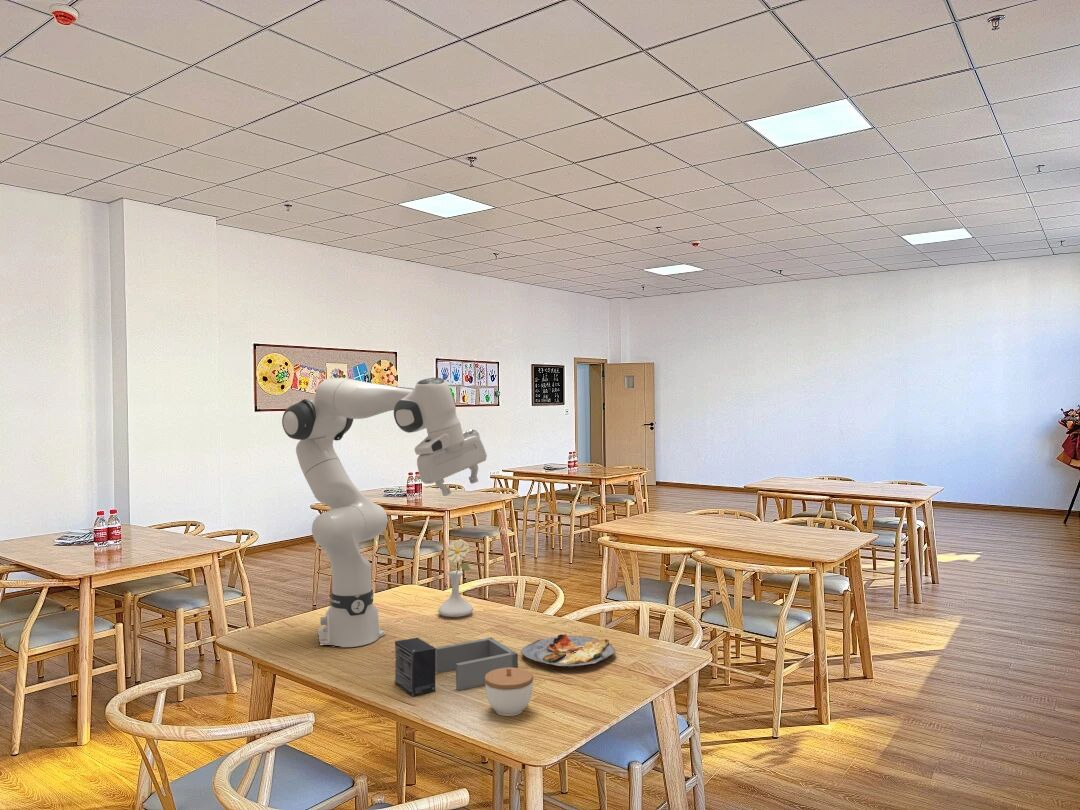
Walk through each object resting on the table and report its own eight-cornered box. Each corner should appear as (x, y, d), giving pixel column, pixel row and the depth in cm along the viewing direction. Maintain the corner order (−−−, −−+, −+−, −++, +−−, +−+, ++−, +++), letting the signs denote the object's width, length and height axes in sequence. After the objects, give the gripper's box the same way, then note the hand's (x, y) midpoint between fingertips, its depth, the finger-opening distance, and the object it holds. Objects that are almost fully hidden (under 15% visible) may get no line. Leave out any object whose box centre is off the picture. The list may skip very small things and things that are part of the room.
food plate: (559, 637, 217) (558, 625, 217) (629, 652, 203) (629, 639, 203) (506, 662, 196) (506, 649, 196) (580, 680, 183) (580, 666, 183)
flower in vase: (431, 615, 241) (430, 538, 241) (459, 608, 248) (458, 533, 248) (455, 623, 231) (453, 543, 231) (483, 616, 239) (482, 538, 239)
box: (435, 671, 190) (434, 647, 190) (491, 659, 198) (491, 637, 198) (458, 690, 177) (458, 665, 177) (518, 677, 185) (517, 653, 185)
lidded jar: (481, 703, 169) (481, 662, 169) (527, 698, 171) (527, 658, 171) (489, 723, 158) (488, 679, 158) (538, 717, 161) (537, 674, 161)
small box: (437, 691, 177) (437, 647, 177) (412, 697, 173) (411, 652, 173) (418, 678, 185) (418, 635, 185) (394, 683, 182) (393, 640, 182)
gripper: (469, 427, 203) (482, 476, 204) (408, 450, 189) (423, 502, 190) (483, 426, 198) (497, 475, 200) (423, 449, 184) (438, 502, 186)
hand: (461, 488), depth 195 cm, fingers open, 8 cm apart
